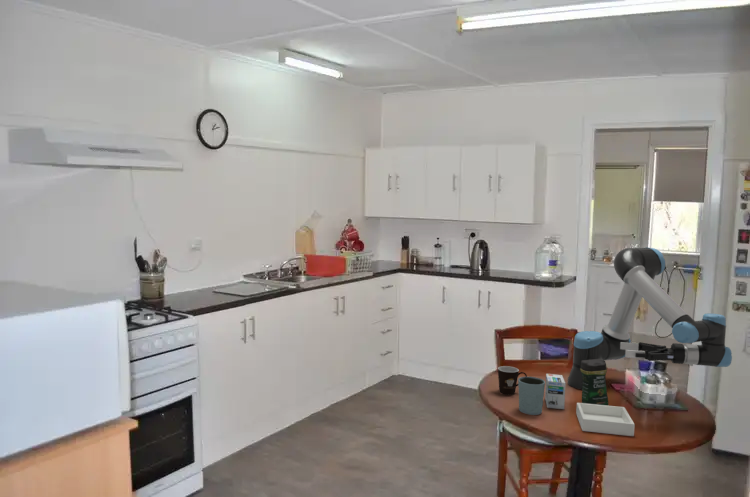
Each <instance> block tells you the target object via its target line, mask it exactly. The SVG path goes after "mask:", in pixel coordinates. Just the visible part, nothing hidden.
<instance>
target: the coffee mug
mask: <svg viewBox="0 0 750 497" xmlns="http://www.w3.org/2000/svg"><path fill="white" fill-rule="evenodd" d="M519 371H520V370H519V369H518V368H517V367H514V366H508V365H503V366H501V365H500V366H499V367H497V376H498V377H497V378H498V388H499V389H498V391H499V393H500V394H502V395H503V396H504V395H506V396H513V395H515V394H516V389H517V387H518V379H519V375H523V374H524V377H528V375H527V373H526V372H524V371H520V372H519Z"/></svg>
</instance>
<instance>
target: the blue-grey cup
mask: <svg viewBox="0 0 750 497" xmlns="http://www.w3.org/2000/svg"><path fill="white" fill-rule="evenodd" d="M517 384H518V386H517V387H518V410H519V411H520V412H521V413H523V414H525V415H530V416H537V415H541V414H542V412H543V405H544V398H545V389H546V380H544V379H542V378H539V377H536V376H527V377H526V376H520V377H518V378H517Z"/></svg>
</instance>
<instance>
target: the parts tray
mask: <svg viewBox="0 0 750 497" xmlns="http://www.w3.org/2000/svg"><path fill="white" fill-rule="evenodd" d="M575 412H576V413H575V414H576V416H577V420H578V422H579V426H580V428H581V431H583V432H592V433H600V434H610V435H617V436H618V435H619V436H627V437H635V426H636V425H635V423H634V421H633V419H632V418H631V416H630V414H629V412H628V411H627V409H626V407H625V406H615V405H608V406H607V405H597V404H586V403H582V402H576V410H575Z"/></svg>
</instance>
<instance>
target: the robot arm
mask: <svg viewBox="0 0 750 497" xmlns="http://www.w3.org/2000/svg"><path fill="white" fill-rule="evenodd" d="M613 259H614V260H613V268H614V270H615V273H616V274H617V275H618V277H619V278H620V280H622V282H623V286H622V288H621V291H620V294H619V296H618V298H617V302H616V304H615V306H614V308H613V312H612V314H611V316H610V318H609V322H608V324H605V325H604V326H603V327H602V330H601V332H599V331H596V330H595V331H594V330H589V331H588V330H584V331H579V332H577V333H576V334H575V336H574V338H573V339H574V341H573V352H572V353H573V355H572V356H573V357H572V367H571V369H570V372H569V375H568V377H567V385H569V386H570V387H572V388H574V389H578V390H581V391H582V386H583V377H582V373H581V370H580V367H581V361H582V360H592V359H602V360H604V361H605V362H606V361H611V360H619V359H624V358H629V359H644V360H647V361H649V362H651V361H670V362H672V363H673V364H675V365H676V364H679V365H683V364H685V365H689V366H690V367H693V366H704V367H715V368H719V367H722V368H726V367H727V368H728V367H729V366H730V365H732V361H733V355H732V354H733V353H732V350H731V348H730V347H728V346H726V329H727V322H726V321H727V319H726V318H727V317H726V316H725V315H723V314H718V313H712V312H711V313H704V314H703V315H702V319H701V320H694V319H693V317H691V316H690V315H689V314H688V313H687V311H685V310H684V309H683V308H682V307H681V306H680V305H679V303H678V302H676V301H675V300H674V299H673V298H672V296H670V295H669V294H668V293H667V292H666V291H665V290H664V289H663V288H662V287H661V286H660V285H659V284H658V283H657V282H656V281H655V280H654V279H655V278H656V276H659V275H661V274H662V273H663V272H664V271H665V268H666V259H665V258H664V254H663V253H662V252H661V251H660V249H657V248H653V247H627V248H623V249H622V250H620V251H618V252H617V254H615V257H614V258H613ZM642 299H643V300H644V301H646V303H647V304H648V305H649V306H650V307H651V308H652V309H653V310H654V311H655V312H656V313H657V314H658V316H660V317H661V318H662V319H663V320H664V321H665V323H667V325H669V326H670V327H671V333H672V337H673V339H674V340H675V341H677V342H679V343H675V342H673V343H672V344H671V345H670V348H669V347H667V345H662V344H661V345H659V344H653V343H648V342H643V341H641V342H631V338H630V337H631V335H630V333H629V330H630V328H631V326H632V323H633V320H634V318H635V316H636V314H637V311H638V308H639V306H640V303H641V301H642ZM699 342H701V344H693V343H699Z"/></svg>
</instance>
